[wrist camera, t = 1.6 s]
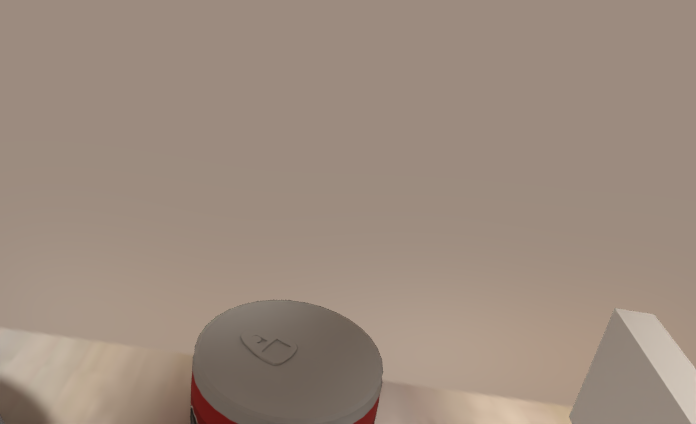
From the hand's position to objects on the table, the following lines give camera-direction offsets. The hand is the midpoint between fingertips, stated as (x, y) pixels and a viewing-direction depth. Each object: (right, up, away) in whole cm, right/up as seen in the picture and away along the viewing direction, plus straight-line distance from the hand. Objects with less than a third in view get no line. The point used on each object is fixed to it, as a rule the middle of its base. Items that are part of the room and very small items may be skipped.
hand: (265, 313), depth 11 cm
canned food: (-2, -14, +17) cm, 22 cm away
